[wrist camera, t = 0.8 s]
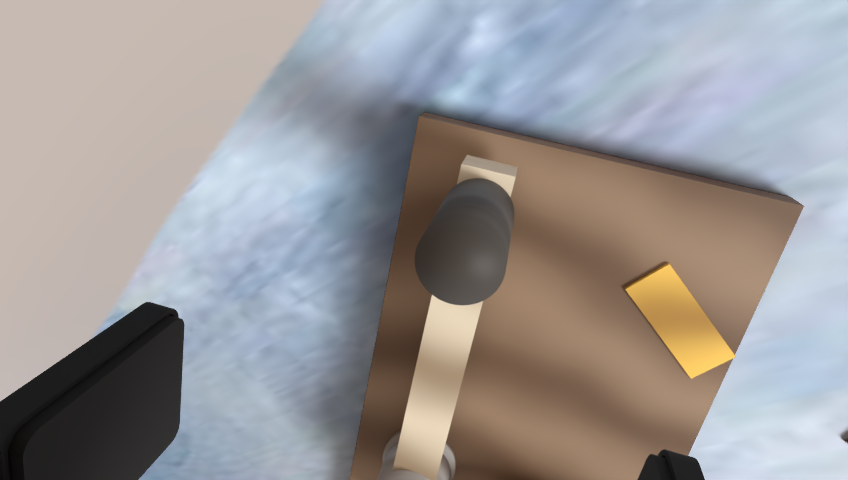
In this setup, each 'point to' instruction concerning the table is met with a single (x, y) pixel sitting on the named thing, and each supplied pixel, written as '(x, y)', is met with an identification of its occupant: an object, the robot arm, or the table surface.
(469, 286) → the lever
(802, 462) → the table surface
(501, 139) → the press board
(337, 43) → the table surface
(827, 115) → the table surface
